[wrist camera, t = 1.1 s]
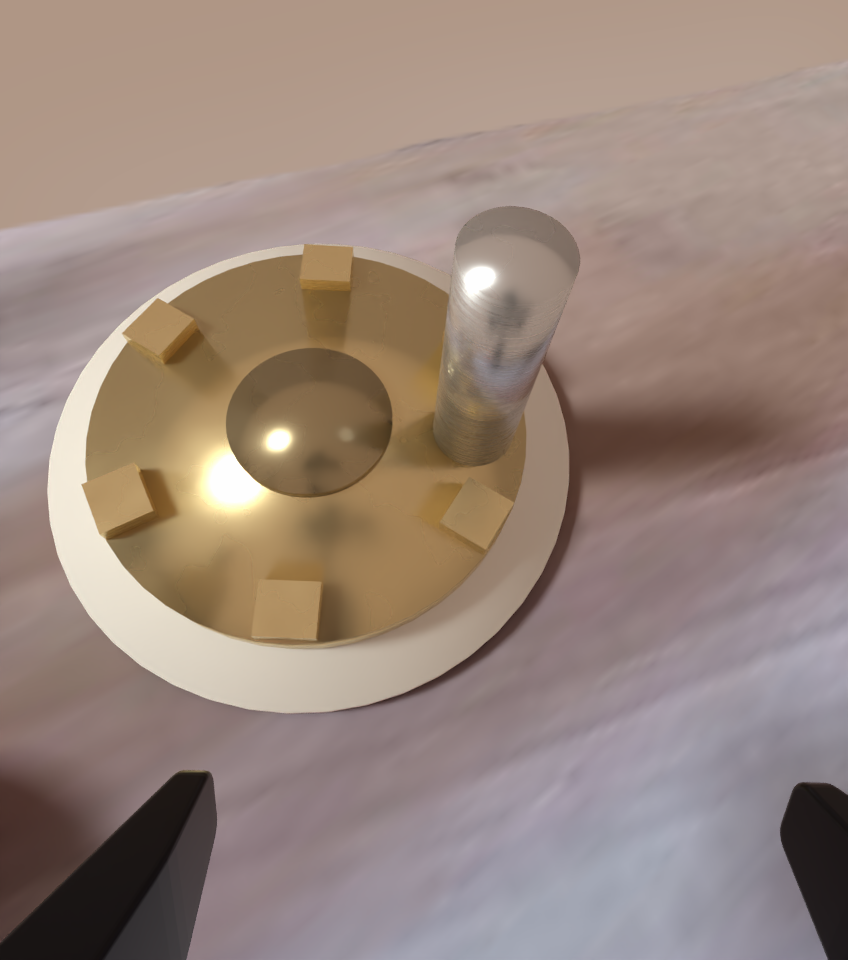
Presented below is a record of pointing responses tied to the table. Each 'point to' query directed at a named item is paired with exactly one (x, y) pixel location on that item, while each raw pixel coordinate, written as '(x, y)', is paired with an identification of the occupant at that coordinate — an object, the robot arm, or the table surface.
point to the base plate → (316, 671)
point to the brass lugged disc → (326, 432)
